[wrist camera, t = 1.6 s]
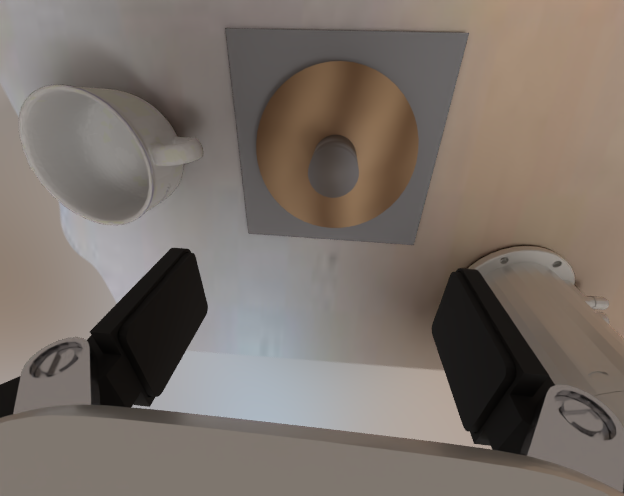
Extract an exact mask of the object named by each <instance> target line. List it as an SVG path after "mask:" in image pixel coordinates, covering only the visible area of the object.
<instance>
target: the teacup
mask: <svg viewBox="0 0 624 496" xmlns="http://www.w3.org/2000/svg"><path fill="white" fill-rule="evenodd" d="M19 136H20V140H21V144H22V148H23V151H24V153H25V156H26V159H27V161H28V164H29V166H30V168H31V169H32V170H33V172H34V173H35V175H36V176H37V178H38V179H39V181H40V182H41V184H42V185H43V186H44V187H45V188H46V189H47V190H48V192H49V193H50V194H51V195H52V196H53V197H54V198H55V199H57V200H58V201H59V202H60V203H61V204H62V205H64V206H65V207H66V208H68V209H69V210H71V211H73V212H74V213H76V214H78V215H80V216H82V217H83V218H85V219H88V220H91V221H93V222H97V223H100V224H105V225H123V224H126V223H130V222H132V221H134V220H136V219H138V218H140V217H141V216H142V215H143V214H144V213H145V212H146V211H148V210H150V209H151V208H153V207H155V206H156V205H158V204H159V203H161V202H162V201H163V200H165V199H166V198H167V197H168V196H170V195H171V194H172V193H173V191H174V190H175V189H176V188H177V186H178V184H179V182H180V180H181V177H182V174H183V166H184V164H186V163H190V162H193V161H196V160H198V159H200V158H201V157H202V156H203V148H202V145H201V143H200V141H199V140H198V139H197V138H193V137H177V135H176V133H175V131H174V129H173V128H172V126H171V125H170V123H169V122H168V121H167V119H166V118H165V117H164V116H163V115H162V114H161V113H160V112H159V111H158V110H157V109H156V108H155V107H153V106H152V105H151V104H149V103H148V102H146V101H144V100H143V99H141V98H139V97H137V96H135V95H132V94H129V93H127V92H123V91H119V90H113V89H104V88H89V87H74V86H68V85H49V86H44V87H42V88H39V89H38V90H36V91H34V92H33V93H31V94H30V95H29V97H28V98H27V99H26V100H25V102H24V104H23V105H22V107H21V111H20V115H19Z"/></svg>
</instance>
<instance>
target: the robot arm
mask: <svg viewBox="0 0 624 496" xmlns="http://www.w3.org/2000/svg"><path fill="white" fill-rule="evenodd" d="M574 284H575V275H574V272H573V269H572V267H571V266H570V265H569V263H568V262H567V261H566V260H565V259H563V258H562V257H561V256H560V255H558V254H557V253H555V252H553V251H551V250H549V249H545V248H541V247H535V246H519V247H511V248H507V249H502V250H499V251H497V252H494V253H491V254H489V255H487V256H485V257H483V258H481V259H479V260H478V261H477V262H475V263H474V264H472V265H471V266H470V267H469V268H468V269H463V268H459V269H458V270H457V271H456V272H452V273H451V275H450V278H449V280H448V283H447V286H446V289H445V291H444V294H443V297H442V300H441V302H440V305H439V308H438V311H437V313H436V316H435V319H434V322H433V325H432V334H433V338H434V341H435V344H436V347H437V350H438V353H439V356H440V359H441V361H442V364H443V367H444V370H445V373H446V376H447V379H448V382H449V385H450V388H451V391H452V394H453V397H454V400H455V403H456V406H457V409H458V412H459V415H460V418H461V421H462V424H463V426H464V428H465V430H466V431H470V433H471V436H472V439H473V442H474V444H481V445H490V446H491V447H492V450H490V449H483V448H475V447H469V446H461V445H454V444H447V443H439V442H431V441H423V440H415V439H407V438H398V437H390V436H382V435H373V434H365V433H357V432H348V431H340V430H331V429H322V428H314V427H305V426H297V425H288V424H279V423H271V422H262V421H253V420H243V419H235V418H226V417H216V416H208V415H198V414H189V413H180V412H171V411H162V410H151V409H141V408H131V407H132V405H133V404H134V405H140V406H150V405H151V404H152V402H153V400H154V398H155V397H157V396H159V395H160V394H161V393H162V392H163V390H164V388H165V386H166V385H167V383H168V381H169V379H170V378H171V376H172V374H173V372H174V370H175V369H176V367H177V365H178V364H179V362H180V360H181V358H182V356H183V354H184V353H185V351H186V349H187V348H188V346H189V344H190V342H191V341H192V339H193V337H194V335H195V333H196V332H197V330H198V328H199V326H200V325H201V323H202V321H203V319H204V318H205V316H206V314H207V310H208V305H207V301H206V297H205V293H204V289H203V285H202V281H201V277H200V273H199V269H198V265H197V261H196V257H195V254H194V253H191V251H190V250H189V249H183V248H171V249H170V250H169V251H168V252H167V253H166V254H165V255H164V256H163V257H162V258H161V259H160V260H159V261H158V262H157V263H156V264H155V265H154V266H153V267H152V268H151V269H150V270H149V271H148V273H147V274H146V275H145V276H144V277H143V278H142V279H141V280H140V281H139V282H138V283H137V284H136V285H135V286H134V287H133V288H132V289H131V290H130V291H129V292H128V293H127V294H126V295H125V296H124V297H123V298H122V299H121V300H120V301H119V302H118V303H117V304H116V305H115V307H113V308H112V309H111V311H110V312H108V314H107V315H106V316H105V317H104V318H103V319H102V320H101V321H100V322H99V323H98V324H97V325H96V326H95V327H94V328H93V329H92V330H91V331H90V333H91V334H92V335H91V336H90V337H89V338H88V340H87V341H86V340H85V339H84V338H78V337H73V338H66V339H62V340H59V341H56V342H54V343H52V344H50V345H48V346H46V347H44V348H43V349H41V350H40V351H38V352H37V353H36V354H35V355H33V356H32V357H31V358H30V359H29V361H28V362H27V363H26V364H25V365H24V368H23V370H22V372H21V376H20V377H17V378H15V379H12V380H10V381H8V382H6V383H3V384H1V385H0V496H624V338H623V337H622V336H621V335H620V334H619V333H618V332H617V331H615V330H614V329H613V328H612V327H611V326H610V325H609V319H608V317H607V315H606V314H604V313H602V312H596V311H595V310H594V309H601V310H605V309H607V308H608V305H609V303H608V300H607V299H606V298H604V297H595V296H585V295H584V294H583V293H582V292H581V291H580V290H579V289H578V288H576V287H575V286H574Z"/></svg>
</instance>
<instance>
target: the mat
mask: <svg viewBox="0 0 624 496" xmlns="http://www.w3.org/2000/svg"><path fill="white" fill-rule="evenodd" d="M225 29H226V38H227V47H228V56H229V65H230V74H231V82H232V91H233V100H234V109H235V118H236V127H237V136H238V144H239V153H240V162H241V171H242V180H243V189H244V198H245V206H246V215H247V224H248V233H249V234H263V235H277V236H292V237H306V238H320V239H334V240H349V241H363V242H377V243H391V244H406V245H414V242H415V238H416V234H417V230H418V227H419V223H420V219H421V215H422V211H423V207H424V204H425V200H426V196H427V192H428V188H429V184H430V181H431V177H432V173H433V169H434V165H435V161H436V158H437V154H438V150H439V146H440V142H441V138H442V135H443V131H444V127H445V123H446V119H447V115H448V112H449V108H450V104H451V100H452V96H453V92H454V89H455V85H456V81H457V77H458V73H459V69H460V66H461V62H462V58H463V54H464V50H465V46H466V43H467V39H468V35H469V33H445V32H393V31H342V30H290V29H238V28H225ZM330 61H347V62H355V63H358V64H362V65H366V66H368V67H370V68H372V69H375V70H377V71H378V72H380V73H382V74H383V75H385V76H386V77H388V78H389V79H390V80H391V81H392V82H393V83H394V84H395V85H396V86H397V87H398V88H399V89H400V91H401V92H402V93H403V94H404V96H405V97H406V99H407V101H408V103H409V104H410V106H411V109H412V111H413V114H414V116H415V120H416V124H417V129H418V138H419V144H418V156H417V162H416V165H415V169H414V172H413V174H412V177H411V179H410V181H409V183H408V185H407V186H406V188H405V190H404V191H403V193H402V194H401V195H400V197H399V198H398V199H397V200H396V201H395V202H394V203H393V204H392V205H391V206H390V207H389V208H388V209H387V210H385V211H384V212H383V213H381V214H380V215H378V216H377V217H375V218H373V219H371V220H369V221H367V222H364V223H361V224H359V225H355V226H350V227H343V228H327V227H320V226H316V225H312V224H310V223H307V222H304V221H302V220H300V219H298V218H296V217H295V216H293V215H292V214H290V213H289V212H287V211H286V210H285V209H284V208H283V207H282V206H281V205H280V204H279V203H278V202H277V201H276V200H275V199H274V198H273V196H272V195H271V193H270V192H269V190H268V189H267V187H266V185H265V183H264V181H263V178H262V176H261V174H260V170H259V166H258V161H257V154H256V140H257V131H258V127H259V123H260V119H261V117H262V114H263V112H264V109H265V108H266V106H267V104H268V102H269V100H270V99H271V97H272V96H273V95H274V93H275V92H276V91H277V90H278V89H279V87H280V86H281V85H282V84H283V83H284V82H285V81H287V80H288V79H289V78H291V77H292V76H293V75H295V74H296V73H298V72H300V71H302V70H303V69H305V68H308V67H311V66H313V65H316V64H320V63H325V62H330Z"/></svg>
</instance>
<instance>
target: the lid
mask: <svg viewBox="0 0 624 496" xmlns="http://www.w3.org/2000/svg"><path fill="white" fill-rule="evenodd" d="M418 144H419V138H418V129H417V124H416V120H415V116H414V114H413V111H412V109H411V106H410V104H409V103H408V101H407V99H406V97H405V96H404V94H403V93H402V92H401V91H400V89H399V88H398V87H397V86H396V85H395V84H394V83H393V82H392V81H391V80H390V79H389V78H388V77H386V76H385V75H383V74H382V73H380V72H378V71H377V70H375V69H372V68H370V67H368V66H366V65H362V64H358V63H355V62H347V61H330V62H325V63H320V64H316V65H313V66H311V67H308V68H305V69H303V70H302V71H300V72H298V73H296V74H295V75H293V76H292V77H291V78H289V79H288V80H287V81H285V82H284V83H283V84H282V85H281V86H280V87H279V89H278V90H277V91H276V92H275V93H274V95H273V96H272V97H271V99H270V100H269V102H268V104H267V106H266V108H265V109H264V112H263V114H262V117H261V119H260V123H259V127H258V131H257V140H256V154H257V161H258V166H259V170H260V174H261V176H262V178H263V181H264V183H265V185H266V187H267V189H268V190H269V192H270V193H271V195H272V196H273V198H274V199H275V200H276V201H277V202H278V203H279V204H280V205H281V206H282V207H283V208H284V209H285V210H286V211H287V212H289V213H290V214H292V215H293V216H295V217H296V218H298V219H300V220H302V221H304V222H307V223H310V224H312V225H316V226H320V227H327V228H343V227H350V226H355V225H359V224H361V223H364V222H367V221H369V220H371V219H373V218H375V217H377V216H378V215H380V214H381V213H383V212H384V211H385V210H387V209H388V208H389V207H390V206H391V205H392V204H393V203H394V202H395V201H396V200H397V199H398V198H399V197H400V195H401V194H402V193H403V191H404V190H405V188H406V186H407V185H408V183H409V181H410V179H411V177H412V174H413V172H414V169H415V165H416V162H417V156H418Z"/></svg>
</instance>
